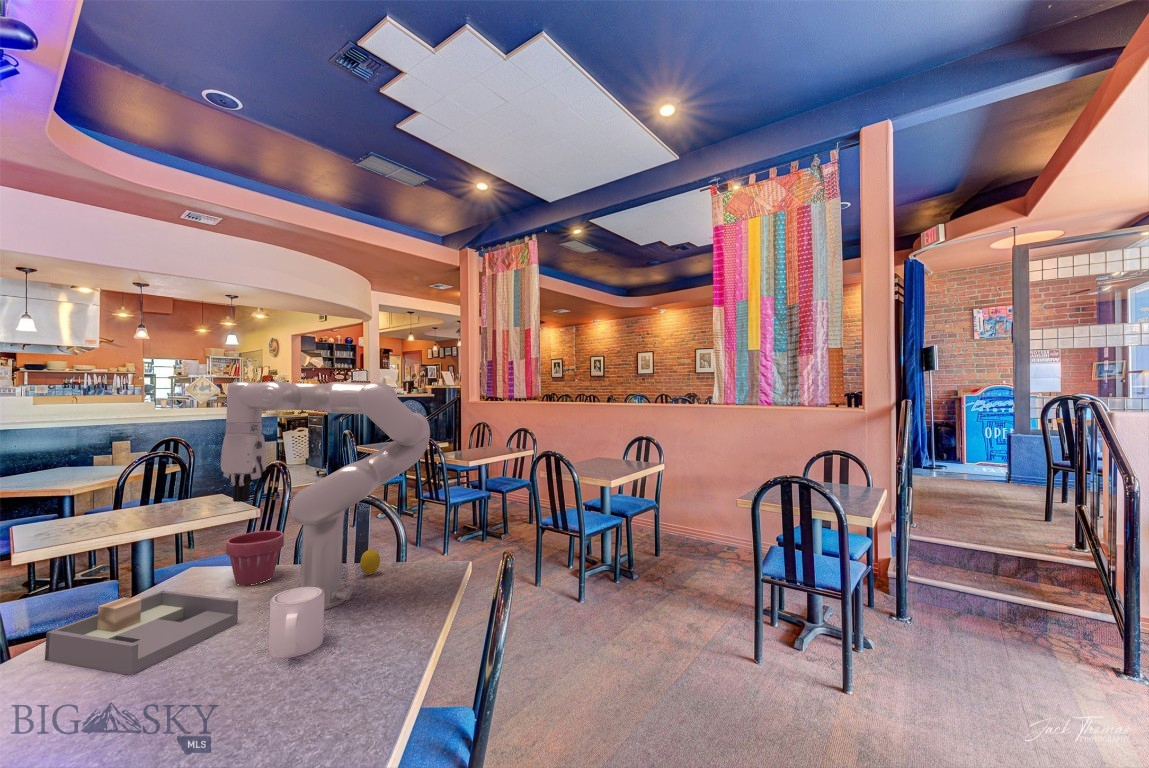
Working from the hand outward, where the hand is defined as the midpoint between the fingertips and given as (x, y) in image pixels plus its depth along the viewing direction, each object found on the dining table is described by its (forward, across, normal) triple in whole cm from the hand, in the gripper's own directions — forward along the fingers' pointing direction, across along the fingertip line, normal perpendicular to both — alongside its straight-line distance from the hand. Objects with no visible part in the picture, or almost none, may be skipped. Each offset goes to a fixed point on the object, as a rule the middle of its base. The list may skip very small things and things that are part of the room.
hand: (241, 500), depth 121 cm
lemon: (+27, -18, -28) cm, 43 cm away
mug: (+27, -30, +13) cm, 43 cm away
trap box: (+27, +3, +18) cm, 33 cm away
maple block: (+25, +12, +18) cm, 33 cm away
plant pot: (+27, +12, -16) cm, 34 cm away
